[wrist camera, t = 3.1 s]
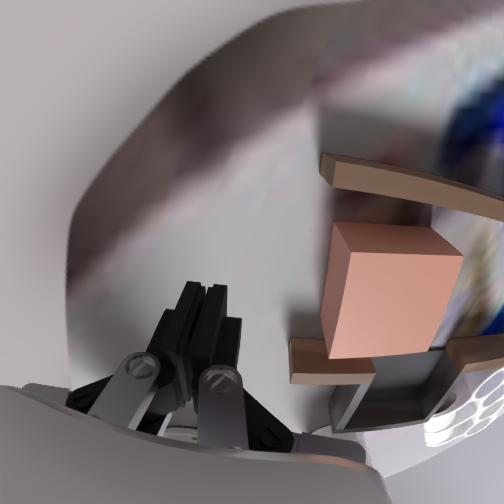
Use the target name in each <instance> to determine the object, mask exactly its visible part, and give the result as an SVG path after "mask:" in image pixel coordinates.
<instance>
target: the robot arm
mask: <svg viewBox="0 0 504 504" xmlns="http://www.w3.org/2000/svg"><path fill="white" fill-rule="evenodd" d="M241 326H242V318H235V317H227V285H219V284H214V285H213V287H208V290H207V293H206V289H205V286H201V283H200V282H192V281H187V283H186V285H185V287H184V289H183V292H182V294H181V296H180V298H179V301H178V303H177V305H176V308H175V310H171V309H166V310H165V311H164V313H163V315H162V317H161V319H160V321H159V324H158V326H157V328H156V330H155V332H154V334H153V337H152V339H151V341H150V343H149V345H148V348H147V350H146V352H137V353H134V354H131V355H130V356H128V357H127V358H126V359H125V360H124V361H123V362H122V364H121V365H120V366H119V368H118V369H117V371H116V372H115V374H114V375H111V376H109V377H106V378H104V379H101V380H99V381H96V382H94V383H91V384H88V385H86V386H83V387H81V388H78V389H76V390H74V391H70V389H67V388H60V387H54V386H47V385H41V384H36V383H29V384H27V385H25V386H24V387H22V389H21V388H18V387H13V386H5V385H0V504H392V499H391V495H390V492H389V489H388V486H387V484H386V482H385V480H384V478H383V476H382V475H381V474H380V473H379V472H378V471H377V470H375V469H374V468H372V467H370V466H368V465H366V464H365V463H366V451H365V449H364V448H363V446H362V445H360V444H359V443H358V442H355V441H352V440H345V439H338V438H332V437H326V436H320V435H315V434H310V433H305V432H302V433H301V434H299V433H294V432H291V431H290V430H289V429H288V428H287V427H286V426H285V425H284V424H283V423H281V422H280V421H279V420H278V419H277V418H276V417H274V416H273V415H272V414H271V413H270V412H269V411H268V410H267V409H265V408H264V407H263V406H262V405H261V404H260V403H259V402H258V401H257V400H256V399H254V398H253V397H252V396H251V395H250V394H249V393H248V392H247V391H246V390H245V389H244V388H243V381H242V377H241V375H240V373H239V372H238V371H237V363H238V355H239V348H240V338H241ZM191 397H192V398H193V404H194V410H195V413H196V414H197V415H198V422H197V429H191V428H178V427H173V428H166V427H167V425H168V423H169V421H170V419H171V416H172V412H173V411H175V410H177V409H179V407H184V406H185V402H186V401H190V400H191Z"/></svg>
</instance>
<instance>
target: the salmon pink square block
mask: <svg viewBox="0 0 504 504" xmlns="http://www.w3.org/2000/svg"><path fill="white" fill-rule="evenodd" d="M463 259H464V255H462V254H461V253H460V252H459V251H458V250H457V249H456V248H455V247H453V246H452V245H451V244H450V243H449V242H448V241H446V240H445V239H444V238H443V237H442V236H440V235H439V234H438V233H437V232H436V231H434V230H433V229H432V228H431V227H419V226H405V225H391V224H376V223H359V222H340V221H333V228H332V236H331V245H330V252H329V260H328V267H327V274H326V281H325V287H324V294H323V300H322V306H321V312H320V318H321V323H322V328H323V333H324V337H325V342H326V347H327V352H328V358H329V359H341V358H361V357H377V356H389V355H400V354H410V353H418V352H427V351H428V349H429V347H430V345H431V343H432V340H433V338H434V336H435V334H436V332H437V329H438V327H439V325H440V322H441V320H442V318H443V315H444V313H445V310H446V308H447V305H448V303H449V300H450V297H451V295H452V292H453V289H454V286H455V283H456V281H457V278H458V275H459V271H460V268H461V265H462V262H463Z"/></svg>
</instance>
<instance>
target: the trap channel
mask: <svg viewBox="0 0 504 504" xmlns="http://www.w3.org/2000/svg"><path fill="white" fill-rule="evenodd" d="M320 175H321V176H322V177H323V178H324V179H325V180H326V181H327V182H328V183H329V184H330V185H331V186H332V187H334V188H341V189H348V190H355V191H361V192H368V193H374V194H380V195H385V196H391V197H397V198H402V199H407V200H412V201H417V202H422V203H427V204H432V205H437V206H441V207H446V208H450V209H455V210H459V211H463V212H467V213H471V214H475V215H479V216H483V217H487V218H491V219H495V220H498V221H502V222H504V197H503V196H500V195H497V194H494V193H491V192H488V191H485V190H482V189H479V188H476V187H473V186H470V185H466V184H463V183H460V182H456V181H453V180H450V179H446V178H442V177H439V176H435V175H431V174H427V173H423V172H419V171H415V170H411V169H407V168H402V167H398V166H393V165H389V164H384V163H379V162H374V161H369V160H363V159H358V158H352V157H346V156H340V155H334V154H327V153H322V158H321V166H320ZM288 353H289V372H290V384H309V385H337V387H336V389H335V391H334V393H333V396H332V398H331V400H330V402H329V404H328V406H329V413H330V420H331V427H332V434H337V433H353V432H364V431H374V430H383V429H390V428H397V427H404V426H410V425H415V424H421V423H426V422H428V421H429V420H430V418H431V417H432V416H433V415H434V414H435V413H436V411H437V410H438V409H439V408H440V407H441V405H442V404H443V403H444V402H445V400H446V399H447V398H448V396H449V395H450V394H451V393H452V391H453V390H454V389H455V387H456V386H457V384H458V383H459V382H460V380H461V379H462V377H463V376H464V375H465V373H470V372H475V371H480V370H485V369H490V368H495V367H499V366H503V365H504V333H502V334H494V335H484V336H474V337H462V338H450V339H449V341H448V343H447V345H446V347H445V348H440V349H428V351H427V352H418V353H410V354H400V355H389V356H377V357H361V358H341V359H329V358H328V352H327V347H326V342H325V340H319V339H299V338H291V339H290V344H289V348H288Z"/></svg>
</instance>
